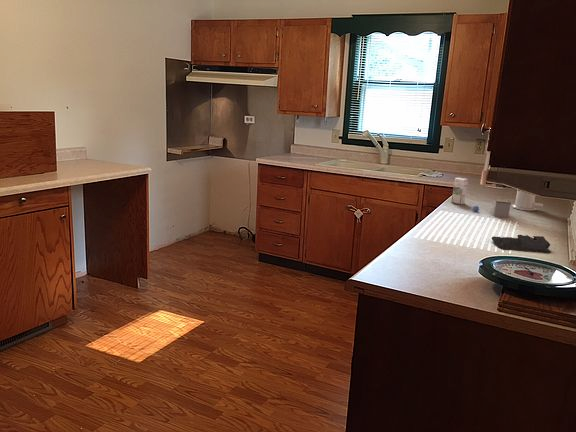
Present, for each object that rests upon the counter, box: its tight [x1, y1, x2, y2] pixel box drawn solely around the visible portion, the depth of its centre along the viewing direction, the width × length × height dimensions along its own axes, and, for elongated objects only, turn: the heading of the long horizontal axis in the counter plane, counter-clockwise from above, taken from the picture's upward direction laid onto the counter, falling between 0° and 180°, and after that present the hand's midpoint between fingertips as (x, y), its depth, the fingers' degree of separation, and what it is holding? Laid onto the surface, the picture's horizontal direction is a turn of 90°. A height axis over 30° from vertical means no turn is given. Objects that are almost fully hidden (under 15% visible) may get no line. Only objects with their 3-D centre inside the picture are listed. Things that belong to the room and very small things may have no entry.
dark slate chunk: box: [491, 234, 552, 254], centre depth 207 cm, size 15×22×5 cm
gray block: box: [492, 198, 512, 219], centre depth 261 cm, size 7×7×8 cm
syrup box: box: [451, 177, 469, 205], centre depth 286 cm, size 6×6×14 cm
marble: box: [472, 205, 480, 212], centre depth 268 cm, size 3×3×3 cm
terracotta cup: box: [479, 169, 496, 188], centre depth 276 cm, size 7×7×8 cm
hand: (488, 182), depth 277 cm, fingers closed on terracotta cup, 7 cm apart
